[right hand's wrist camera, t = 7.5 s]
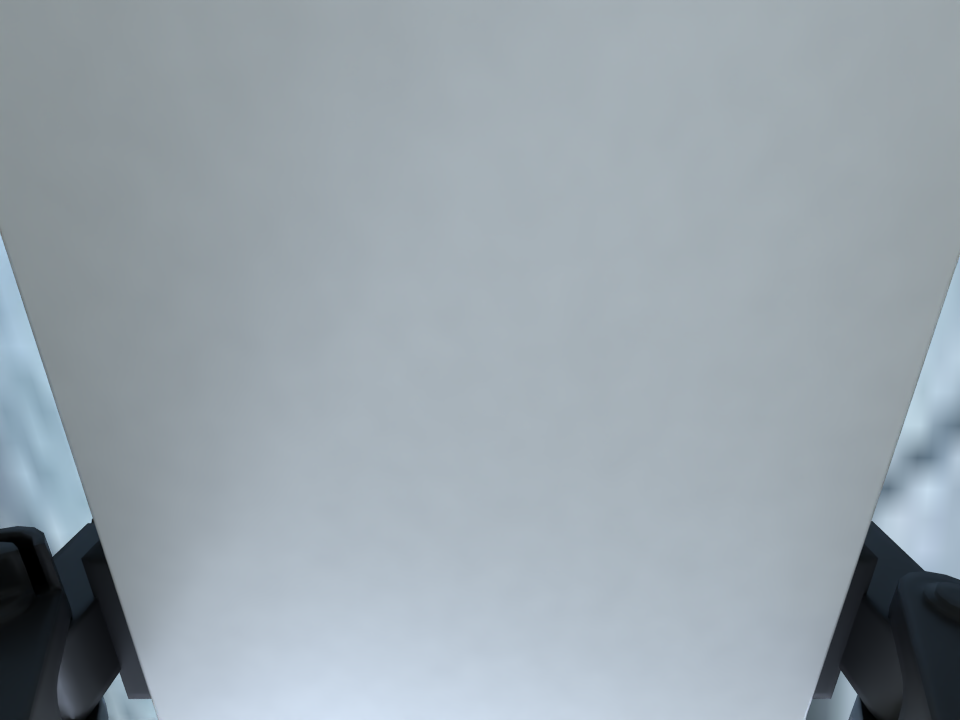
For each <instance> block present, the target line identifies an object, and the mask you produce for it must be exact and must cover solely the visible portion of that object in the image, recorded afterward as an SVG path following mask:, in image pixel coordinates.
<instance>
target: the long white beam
mask: <svg viewBox="0 0 960 720" xmlns="http://www.w3.org/2000/svg"><path fill="white" fill-rule="evenodd" d="M0 233H1V236H2V239H3V242H4V246H5V249H6V252H7V255H8V258H9V261H10V264H11V267H12V270H13V273H14V276H15V279H16V283H17V286H18V289H19V292H20V295H21V298H22V301H23V304H24V307H25V310H26V313H27V316H28V320H29V323H30V326H31V329H32V332H33V335H34V338H35V341H36V344H37V347H38V350H39V353H40V356H41V360H42V363H43V366H44V369H45V372H46V375H47V378H48V381H49V384H50V387H51V390H52V393H53V397H54V400H55V403H56V406H57V409H58V412H59V415H60V418H61V421H62V424H63V427H64V430H65V434H66V437H67V440H68V443H69V446H70V449H71V452H72V455H73V458H74V461H75V464H76V467H77V471H78V474H79V477H80V480H81V483H82V486H83V489H84V492H85V495H86V498H87V501H88V504H89V508H90V511H91V514H92V517H93V520H94V523H95V526H96V529H97V532H98V535H99V538H100V541H101V545H102V548H103V551H104V554H105V557H106V560H107V563H108V566H109V569H110V572H111V575H112V578H113V582H114V585H115V588H116V591H117V594H118V597H119V600H120V603H121V606H122V609H123V612H124V615H125V619H126V622H127V625H128V628H129V631H130V634H131V637H132V640H133V643H134V646H135V649H136V652H137V656H138V659H139V662H140V665H141V668H142V671H143V674H144V677H145V680H146V683H147V686H148V689H149V693H150V696H151V699H152V702H153V705H154V708H155V711H156V714H157V717H158V720H805V718H806V715H807V712H808V709H809V706H810V703H811V700H812V697H813V694H814V691H815V688H816V685H817V682H818V679H819V676H820V673H821V670H822V667H823V664H824V661H825V658H826V655H827V652H828V649H829V646H830V643H831V640H832V637H833V634H834V631H835V628H836V625H837V622H838V619H839V616H840V613H841V610H842V607H843V604H844V601H845V598H846V595H847V592H848V589H849V586H850V583H851V580H852V577H853V574H854V571H855V568H856V565H857V562H858V559H859V556H860V553H861V550H862V547H863V544H864V541H865V538H866V535H867V532H868V529H869V526H870V523H871V520H872V517H873V514H874V511H875V508H876V505H877V502H878V499H879V496H880V493H881V490H882V487H883V484H884V481H885V478H886V475H887V472H888V469H889V466H890V463H891V460H892V457H893V454H894V451H895V448H896V445H897V442H898V439H899V436H900V433H901V430H902V427H903V424H904V421H905V418H906V415H907V412H908V409H909V406H910V403H911V400H912V397H913V394H914V391H915V388H916V385H917V382H918V379H919V376H920V373H921V370H922V367H923V364H924V361H925V358H926V355H927V352H928V349H929V346H930V343H931V340H932V337H933V334H934V331H935V328H936V325H937V322H938V319H939V316H940V313H941V310H942V307H943V304H944V301H945V298H946V295H947V292H948V289H949V286H950V283H951V280H952V277H953V274H954V271H955V268H956V265H957V262H958V259H959V256H960V0H0Z"/></svg>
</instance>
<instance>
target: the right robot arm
mask: <svg viewBox="0 0 960 720" xmlns="http://www.w3.org/2000/svg"><path fill="white" fill-rule="evenodd" d="M840 671H842V672H843V674H844V675H845V677H846V678H847V680H848V681H849V683H850V684H851V685H852V687H853V688H854V690H855V691H856V693H857V694H858V695H857V698H856V700H855V703H854V706H853V709H852V712H851V714H850V717H849V720H960V580H959V579H956V578H953V577H950V576H948V575H944V574H939V573H933V572H927V571H924V570H923V569H922V568H921V567H920V566H919V565H918V564H917V563H916V562H915V561H914V560H913V559H912V558H910V557H909V556H908V555H907V554H906V553H905V552H904V551H903V550H902V549H901V548H900V547H899V546H898V545H897V544H896V543H895V542H894V541H893V540H892V539H891V538H889V537H888V536H887V535H886V534H885V533H884V532H883V531H882V530H881V529H880V528H879V527H878V526H877V525H876V524H875V523H874V522H873V521H871V523H870V526H869V529H868V532H867V535H866V538H865V541H864V544H863V547H862V550H861V553H860V556H859V559H858V562H857V565H856V568H855V571H854V574H853V577H852V580H851V583H850V586H849V589H848V592H847V595H846V598H845V601H844V604H843V607H842V610H841V613H840V616H839V619H838V622H837V625H836V628H835V631H834V634H833V637H832V640H831V643H830V646H829V649H828V652H827V655H826V658H825V661H824V664H823V667H822V670H821V673H820V676H819V679H818V682H817V685H816V688H815V691H814V694H813V697H812V699H831V697H832V694H833V691H834V688H835V685H836V683H837V680H838V677H839V674H840ZM119 672H120V675H121V678H122V681H123V684H124V687H125V690H126V693H127V696H128V699H151V696H150V693H149V689H148V686H147V683H146V680H145V677H144V674H143V671H142V668H141V665H140V662H139V659H138V656H137V652H136V649H135V646H134V643H133V640H132V637H131V634H130V631H129V628H128V625H127V622H126V619H125V615H124V612H123V609H122V606H121V603H120V600H119V597H118V594H117V591H116V588H115V585H114V582H113V578H112V575H111V572H110V569H109V566H108V563H107V560H106V557H105V554H104V551H103V548H102V545H101V541H100V538H99V535H98V532H97V529H96V526H95V523H94V520H93V519H92V523H88V524H87V525H86V526H84V527H83V528H82V529H81V530H80V531H79V532H78V533H77V534H76V535H75V536H74V537H73V538H72V539H71V540H70V541H69V542H68V543H67V544H66V545H65V546H64V547H63V548H62V549H60V550H59V551H58V552H57V553H56V554H55V555H54V556H53V557H52V554H51V552H50V549H49V546H48V543H47V541H46V538H45V535H44V533H43V532H41V531H39V530H38V529H36V528H35V527H22V526H16V527H9V528H3V529H0V720H108V712H107V707H106V703H105V700H104V698H103V695H104V694H105V692H106V691H107V689H108V688H109V686H110V685H111V684H112V682H113V681H114V679H115V678H116V676H117V675H118V673H119Z"/></svg>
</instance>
